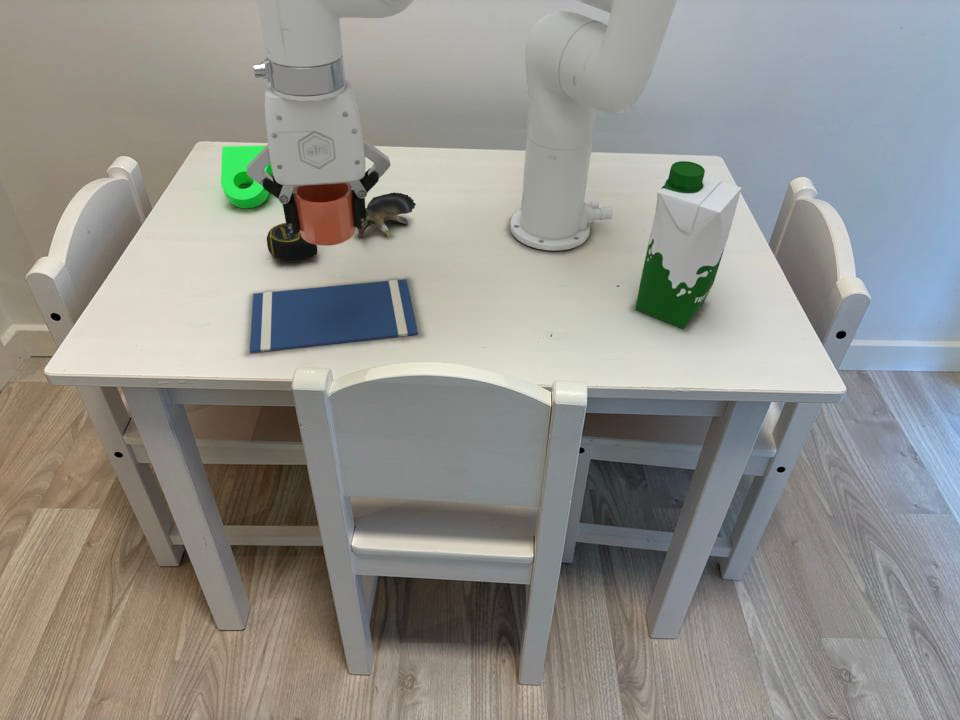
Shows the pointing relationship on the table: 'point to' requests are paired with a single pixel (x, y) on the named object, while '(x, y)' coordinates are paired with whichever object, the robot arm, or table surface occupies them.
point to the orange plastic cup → (325, 213)
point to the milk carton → (685, 243)
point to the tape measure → (289, 244)
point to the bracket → (241, 176)
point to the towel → (331, 315)
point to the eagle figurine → (386, 211)
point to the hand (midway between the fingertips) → (327, 224)
